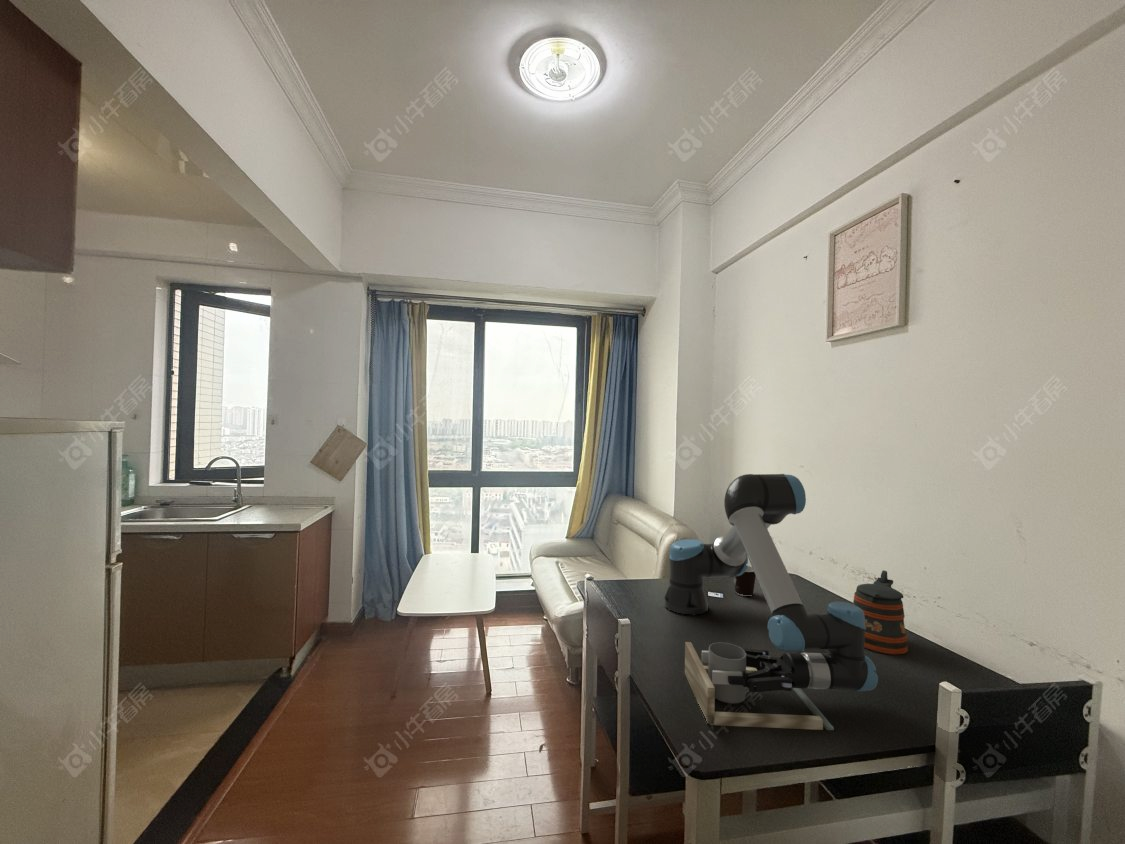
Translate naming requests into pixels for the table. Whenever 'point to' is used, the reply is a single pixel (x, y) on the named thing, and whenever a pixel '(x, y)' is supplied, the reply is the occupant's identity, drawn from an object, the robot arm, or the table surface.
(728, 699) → the cup
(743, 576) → the coffee mug
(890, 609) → the beer stein
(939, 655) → the table surface
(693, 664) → the bay
